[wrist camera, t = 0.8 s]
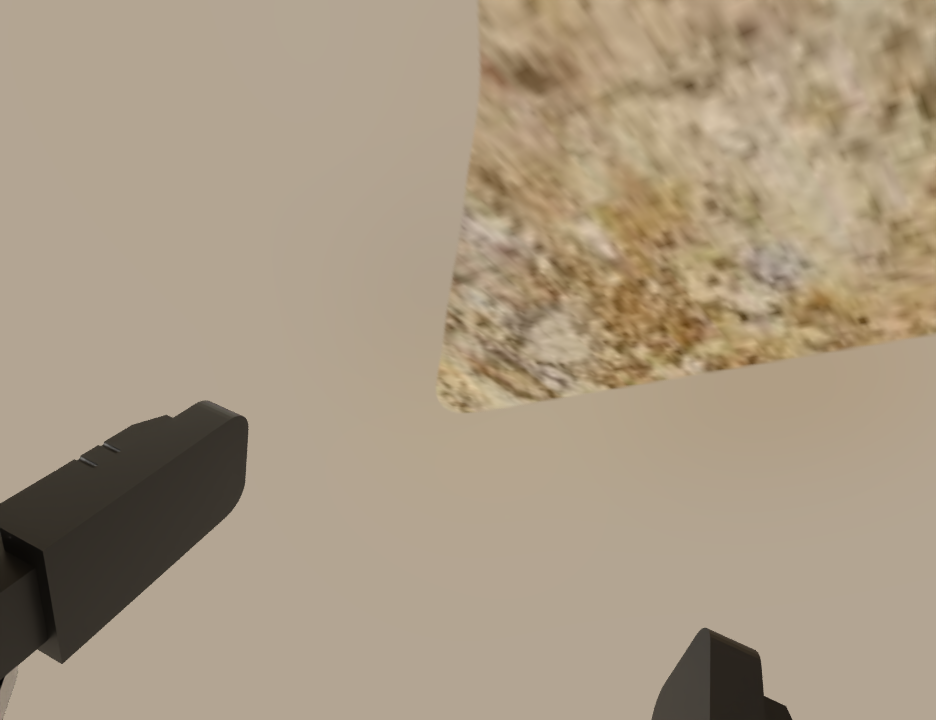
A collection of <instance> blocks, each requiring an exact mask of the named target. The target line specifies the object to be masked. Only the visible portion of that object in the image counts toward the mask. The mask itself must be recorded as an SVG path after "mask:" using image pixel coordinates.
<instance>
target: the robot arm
mask: <svg viewBox="0 0 936 720" xmlns="http://www.w3.org/2000/svg"><path fill="white" fill-rule="evenodd" d="M247 443H248V422H247V419H246V418H245V417H243V416H241V415H239V414H237V413H235V412H232V411H230V410H228V409H226V408H223V407H221V406H219V405H217V404H215V403H212V402H210V401H201V402H198V403H197V404H195V405H193V406H191V407H190V408H188V409H187V410H185V411H183V412H182V413H180V414H179V415H177V416H175V417H174V418H172V417H170V416H168V415H165V416H161V417H158V418H154V419H151V420H148V421H144V422H141V423H138V424H134V425H132V426H130V427H128V428H127V429H125V430H123V431H122V432H120V433H118V434H116V435H115V436H113V437H111V438H110V439H108V440H106V441H105V442H104V444H103V445H102V446H99V445H98V446H96V447H95V448H93V449H92V450H90V451H88V452H86V453H85V454H83V455H81V457H80V459H79V460H73V461H71V462H69V463H68V464H66V465H64V466H63V467H61V468H59V469H58V470H56V471H54V472H53V473H51V474H49V475H48V476H46V477H44V478H43V479H41V480H39V481H37V482H36V483H34V484H32V485H31V486H29V487H27V488H26V489H24V490H23V491H21V492H19V493H17V494H16V495H14V496H12V497H11V498H9V499H7V500H6V501H4V502H2V503H0V720H3V717H4V714H5V711H6V708H7V705H8V702H9V699H10V697H11V694H12V691H13V688H14V685H15V682H16V678H17V674H18V665H19V664H20V663H21V662H22V661H24V660H25V659H26V658H27V657H28V656H30V655H31V654H32V653H33V652H34V651H35V650H37V649H38V650H39V651H41V652H43V653H44V654H46V655H48V656H49V657H51V658H53V659H54V660H56V661H58V662H60V663H61V664H63V663H64V662H65V661H66V660H67V659H68V658H69V657H70V656H71V655H72V654H74V653H75V652H76V651H77V650H78V649H79V648H81V647H82V646H83V645H84V644H85V643H86V642H87V641H88V640H89V639H91V638H92V636H94V635H95V634H96V633H97V632H98V631H99V630H101V629H102V628H103V627H104V626H105V625H106V624H107V623H108V622H110V621H111V620H112V619H113V618H114V617H115V616H116V615H117V614H118V613H119V612H121V611H122V610H123V609H124V608H125V607H126V606H127V605H128V604H130V602H132V601H133V600H134V599H135V598H136V597H137V596H138V595H140V594H141V593H142V592H143V591H144V590H145V589H146V588H147V587H148V586H150V585H151V584H152V583H153V582H154V581H155V580H156V579H157V578H159V577H160V576H161V575H162V574H163V573H164V572H165V571H166V570H167V569H168V568H170V567H171V566H172V565H173V564H174V563H175V562H176V561H177V560H179V559H180V558H181V557H182V556H183V555H184V554H185V553H186V552H187V551H189V550H190V548H192V547H193V546H194V545H195V544H196V543H197V542H199V541H200V540H201V539H202V538H203V537H204V536H205V535H206V534H208V532H210V531H211V530H212V529H213V528H214V527H215V526H216V525H218V524H219V523H220V522H221V521H222V520H223V519H224V518H225V517H226V516H227V515H228V514H229V513H230V512H231V511H232V510H233V508H234V507H235V506H236V504H237V502H238V501H239V499H240V496H241V495H242V492H243V489H244V485H245V475H246V459H247ZM652 720H792V718H791V716H790V714H789V712H788V710H787V708H786V706H784V705H782V704H780V703H778V702H776V701H774V700H771V699H769V698H767V697H765V696H764V693H763V680H762V668H761V660H760V656H759V654H758V652H757V651H756V650H754V649H752V648H749V647H747V646H745V645H743V644H741V643H738V642H736V641H734V640H732V639H729V638H727V637H725V636H723V635H721V634H718V633H716V632H714V631H712V630H710V629H707V628H703V629H701V630H700V631H699V632H698V634H697V635H696V636H695V638H694V639H693V641H692V643H691V644H690V646H689V647H688V649H687V650H686V652H685V653H684V655H683V657H682V658H681V660H680V661H679V662H678V664H677V666H676V667H675V669H674V670H673V672H672V673H671V675H670V676H669V678H668V679H667V681H666V682H665V684H664V686H663V687H662V690H661V691H660V694H659V696H658V699H657V702H656V705H655V708H654V712H653V716H652Z"/></svg>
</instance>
